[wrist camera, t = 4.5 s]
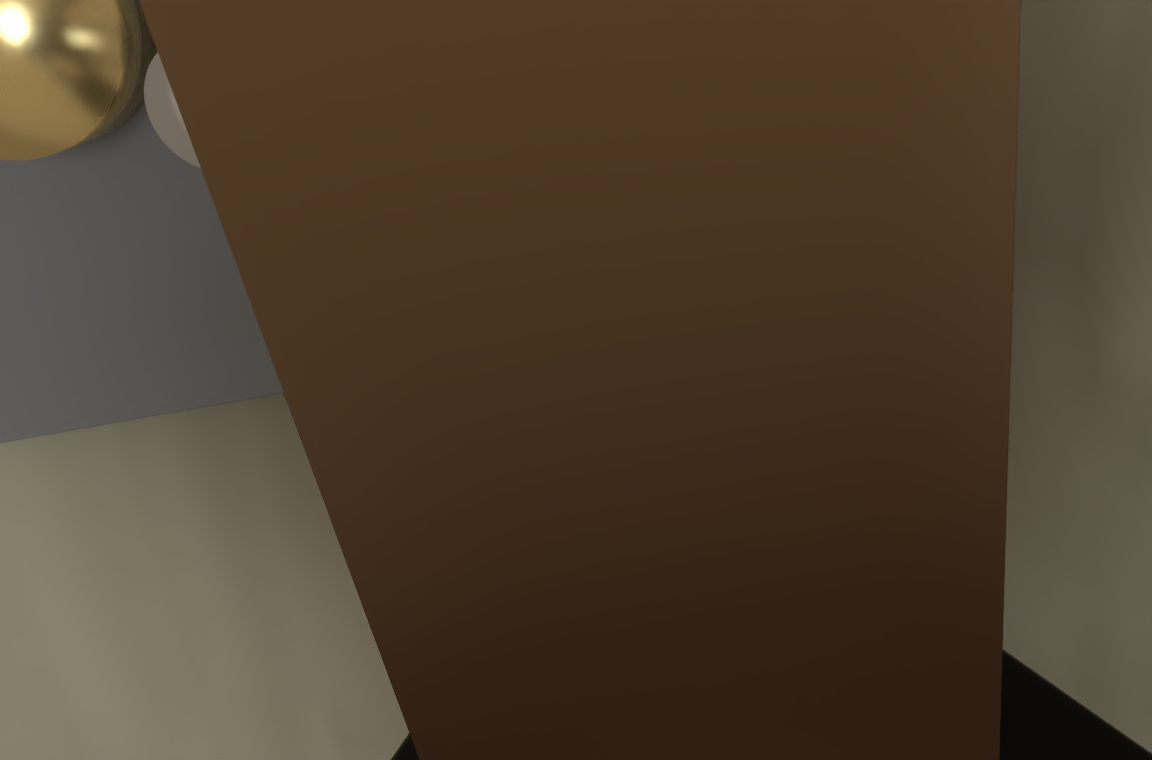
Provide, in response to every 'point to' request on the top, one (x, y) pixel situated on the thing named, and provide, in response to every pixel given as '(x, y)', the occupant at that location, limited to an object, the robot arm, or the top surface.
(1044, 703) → the robot arm
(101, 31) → the yellow-brown curved piece
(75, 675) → the top surface
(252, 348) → the mat
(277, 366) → the brown rectangular block
